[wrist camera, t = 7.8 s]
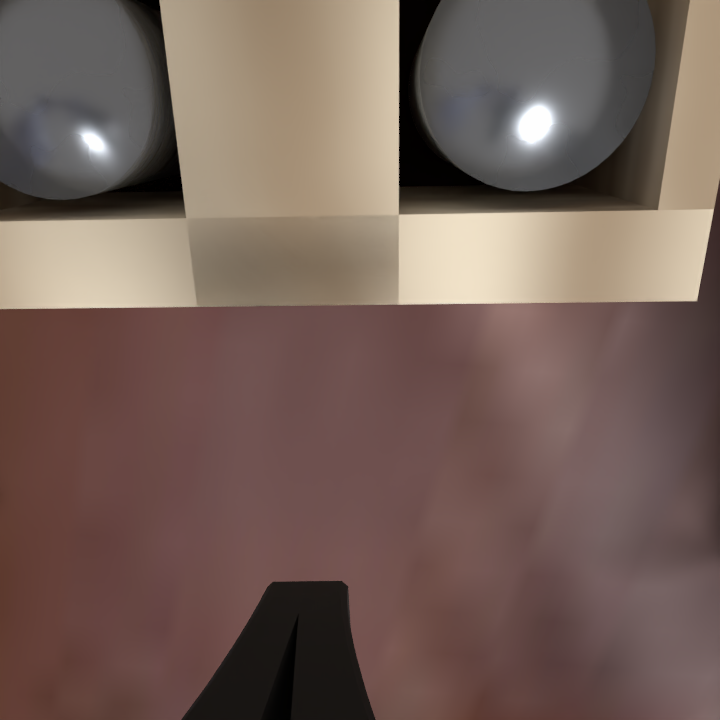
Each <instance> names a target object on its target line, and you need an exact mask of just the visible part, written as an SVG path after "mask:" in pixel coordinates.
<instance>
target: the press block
mask: <svg viewBox="0 0 720 720" xmlns="http://www.w3.org/2000/svg"><path fill="white" fill-rule="evenodd" d="M159 1H160V9H161V17H162V25H163V33H164V42H165V50H166V58H167V66H168V74H169V82H170V90H171V98H172V106H173V115H174V123H175V131H176V139H177V147H178V155H179V163H180V171H181V179H182V188H183V191H157V192H105V193H99V194H95V195H91V196H86V197H82V198H78V199H69V200H54V199H46V198H40V197H35V196H32V195H29V194H26V193H23V192H20V191H18V190H16V189H14V188H12V187H9V186H8V185H6V184H4V183H3V182H1V181H0V309H39V308H127V307H215V306H303V305H391V304H479V303H567V302H656V301H697V298H698V293H699V287H700V282H701V276H702V271H703V266H704V260H705V255H706V249H707V244H708V239H709V233H710V228H711V222H712V217H713V212H714V206H715V201H716V195H717V190H718V185H719V179H720V0H647V3H648V6H649V9H650V12H651V15H652V19H653V25H654V31H655V44H656V55H655V68H654V73H653V78H652V83H651V87H650V90H649V93H648V96H647V99H646V102H645V104H644V107H643V109H642V111H641V113H640V115H639V117H638V119H637V121H636V122H635V124H634V126H633V128H632V129H631V131H630V132H629V134H628V135H627V136H626V138H625V139H624V140H623V142H622V143H621V144H620V145H619V146H618V147H617V148H616V149H615V151H614V152H613V153H612V154H611V155H610V156H609V157H608V158H606V159H605V160H604V161H603V162H602V163H600V164H599V165H598V166H597V167H595V168H594V169H592V170H591V171H589V172H588V173H586V174H585V175H583V176H581V177H579V178H577V179H575V180H573V181H571V184H563V185H560V186H557V187H553V188H549V189H544V190H537V191H512V190H507V189H502V188H497V187H494V186H492V185H469V186H417V187H399V0H159Z"/></svg>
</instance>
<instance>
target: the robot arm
mask: <svg viewBox="0 0 720 720" xmlns="http://www.w3.org/2000/svg"><path fill="white" fill-rule="evenodd" d="M182 720H375V717H374V714H373V711H372V708H371V705H370V702H369V699H368V696H367V693H366V689H365V686H364V682H363V679H362V675H361V671H360V668H359V664H358V661H357V657H356V653H355V648H354V644H353V639H352V634H351V628H350V611H349V595H348V586H347V585H346V584H344V583H343V582H342V581H301V582H272V583H271V584H270V585H269V586H268V587H267V589H266V591H265V593H264V594H263V596H262V598H261V600H260V602H259V604H258V605H257V607H256V609H255V611H254V612H253V614H252V616H251V618H250V619H249V621H248V623H247V624H246V626H245V628H244V629H243V631H242V632H241V634H240V636H239V637H238V639H237V640H236V642H235V644H234V645H233V647H232V648H231V650H230V651H229V653H228V654H227V656H226V657H225V659H224V660H223V662H222V663H221V665H220V666H219V668H218V669H217V671H216V672H215V674H214V675H213V677H212V678H211V680H210V681H209V683H208V684H207V686H206V687H205V688H204V690H203V691H202V693H201V694H200V695H199V697H198V698H197V699H196V701H195V702H194V703H193V705H192V706H191V707H190V709H189V710H188V711H187V713H186V714H185V715H184V717H183V718H182Z"/></svg>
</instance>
